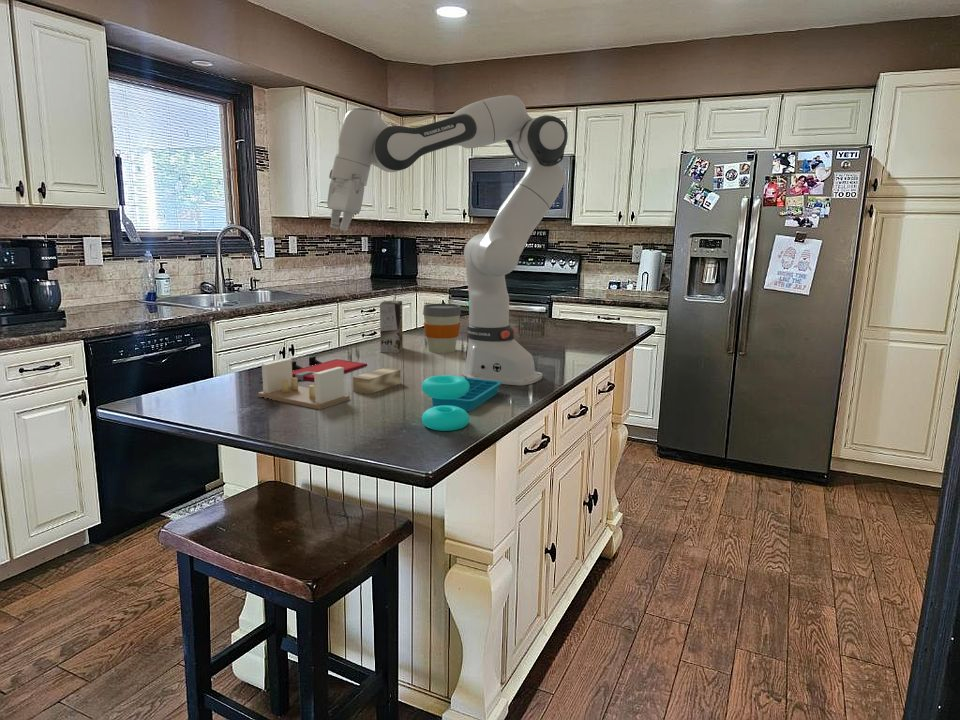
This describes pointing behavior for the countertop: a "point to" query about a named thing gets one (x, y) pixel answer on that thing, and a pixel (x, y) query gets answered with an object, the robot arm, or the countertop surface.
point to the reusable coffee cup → (441, 326)
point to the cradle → (287, 390)
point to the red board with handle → (322, 368)
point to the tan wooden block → (376, 380)
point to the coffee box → (391, 326)
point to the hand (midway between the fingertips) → (338, 229)
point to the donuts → (445, 414)
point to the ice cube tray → (472, 394)
